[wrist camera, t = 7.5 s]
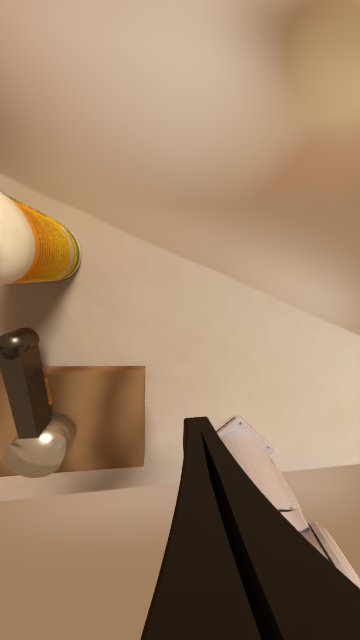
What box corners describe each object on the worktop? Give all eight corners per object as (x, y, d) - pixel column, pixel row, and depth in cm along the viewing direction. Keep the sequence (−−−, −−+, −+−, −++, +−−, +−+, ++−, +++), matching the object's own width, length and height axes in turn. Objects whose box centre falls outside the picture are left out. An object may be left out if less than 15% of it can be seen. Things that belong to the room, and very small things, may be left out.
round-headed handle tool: (78, 445, 20) (64, 475, 17) (32, 448, 19) (9, 479, 16) (62, 324, 16) (40, 336, 13) (2, 323, 15) (-35, 335, 12)
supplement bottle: (32, 282, 16) (-138, 295, 7) (11, 220, 15) (-239, 133, 5) (89, 277, 17) (1, 283, 7) (75, 216, 15) (-57, 130, 6)
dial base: (145, 366, 20) (143, 374, 18) (144, 454, 24) (143, 468, 22) (-50, 366, 17) (-72, 376, 16) (-17, 465, 21) (-32, 481, 19)
